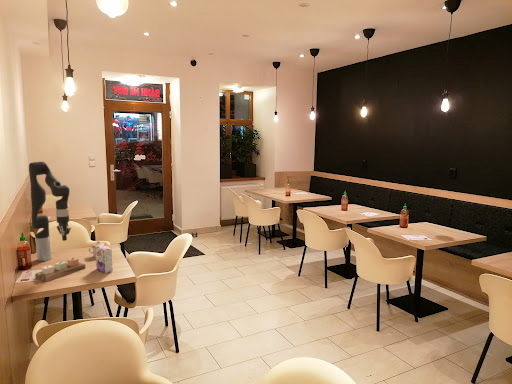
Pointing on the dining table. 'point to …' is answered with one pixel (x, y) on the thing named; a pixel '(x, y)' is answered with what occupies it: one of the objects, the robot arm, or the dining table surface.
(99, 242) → the teacup with lid
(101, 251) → the candy box
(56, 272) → the key block
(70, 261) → the key three
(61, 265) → the key two
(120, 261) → the dining table surface
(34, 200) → the robot arm
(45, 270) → the key one
